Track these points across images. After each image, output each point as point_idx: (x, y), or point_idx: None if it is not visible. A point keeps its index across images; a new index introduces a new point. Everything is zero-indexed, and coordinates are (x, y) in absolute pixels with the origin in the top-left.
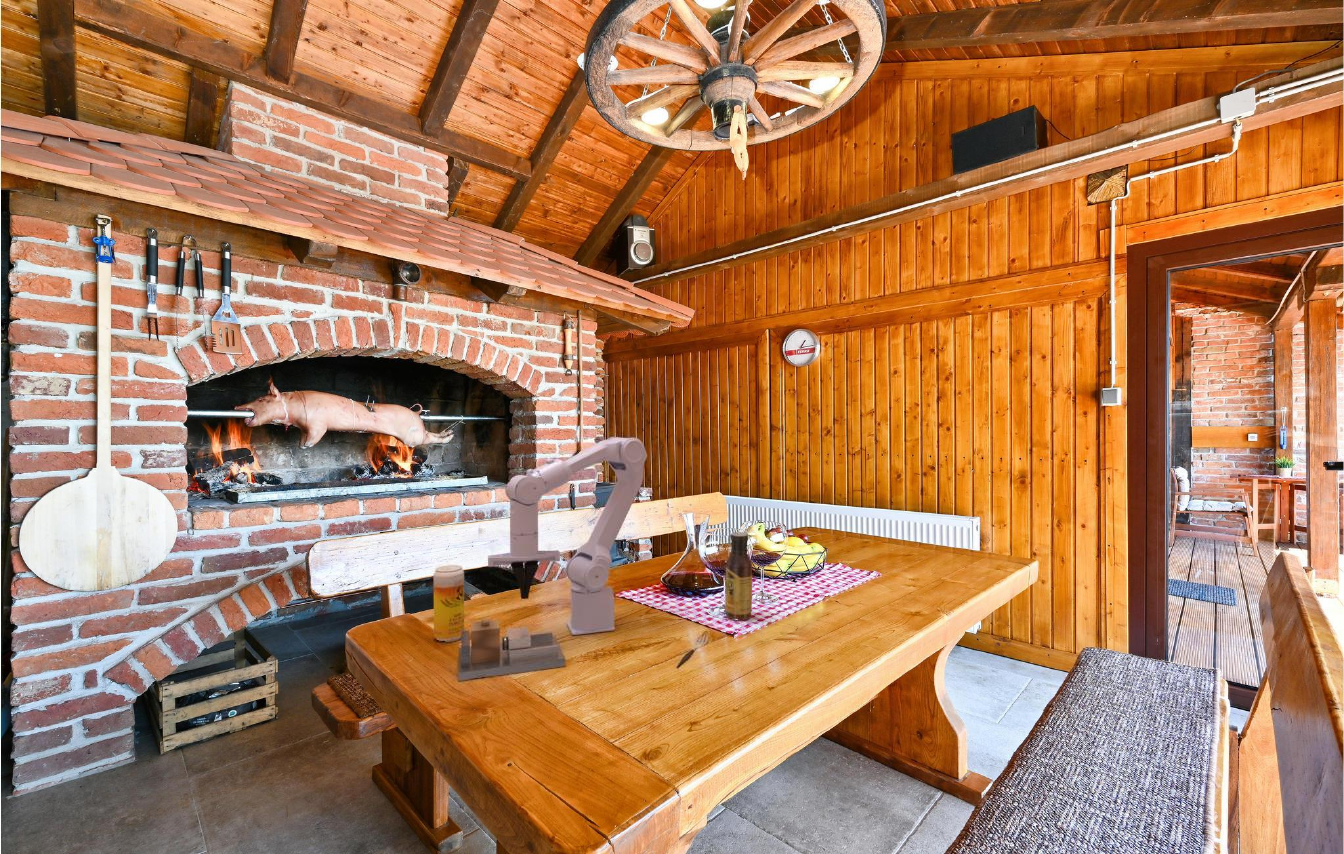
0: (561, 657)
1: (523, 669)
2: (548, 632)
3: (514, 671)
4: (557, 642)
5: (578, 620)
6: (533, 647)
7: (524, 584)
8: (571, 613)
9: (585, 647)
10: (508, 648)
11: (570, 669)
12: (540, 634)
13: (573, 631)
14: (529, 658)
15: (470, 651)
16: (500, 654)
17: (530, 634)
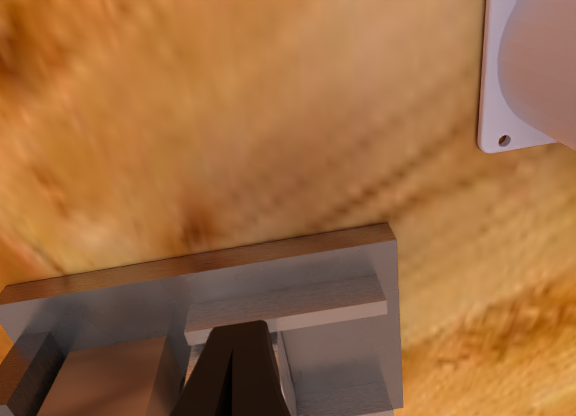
0: (393, 400)
1: None
2: (369, 308)
3: None
4: (395, 298)
5: (552, 136)
6: (300, 329)
7: (234, 400)
8: (544, 87)
9: (493, 270)
10: None
11: (408, 400)
12: (333, 322)
13: (491, 129)
14: None
15: (57, 336)
16: (185, 367)
17: (289, 320)
